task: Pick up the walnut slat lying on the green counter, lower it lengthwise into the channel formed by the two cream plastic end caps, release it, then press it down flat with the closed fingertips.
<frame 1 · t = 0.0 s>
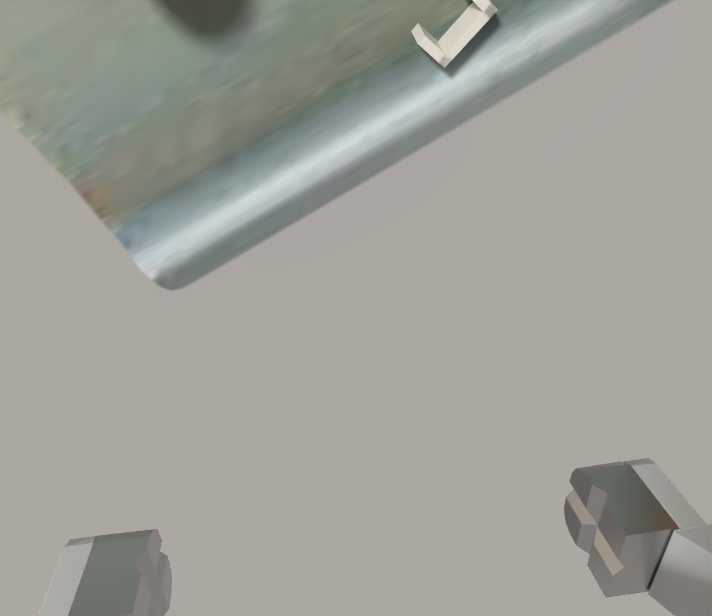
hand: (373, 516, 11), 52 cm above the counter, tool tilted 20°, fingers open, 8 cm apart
cap b: (455, 21, 55), on the counter
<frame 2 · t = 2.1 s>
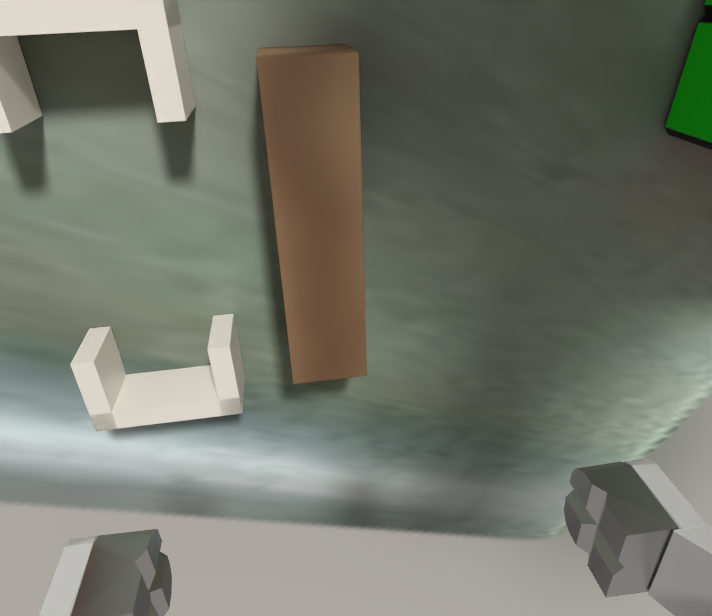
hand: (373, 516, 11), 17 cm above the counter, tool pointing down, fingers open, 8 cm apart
cap a: (85, 28, 20), on the counter
slat: (314, 210, 25), on the counter
cap b: (175, 369, 28), on the counter
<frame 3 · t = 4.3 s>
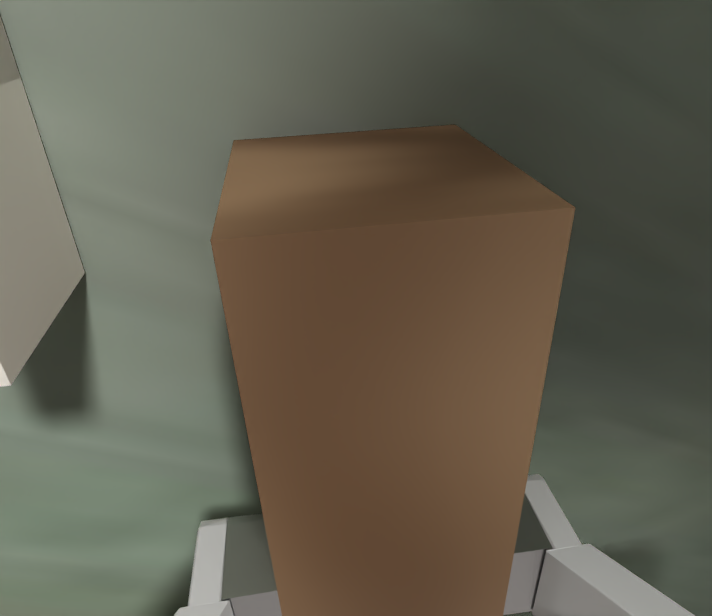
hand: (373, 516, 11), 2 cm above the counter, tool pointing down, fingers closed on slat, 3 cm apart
slat: (361, 451, 12), on the counter, touching gripper
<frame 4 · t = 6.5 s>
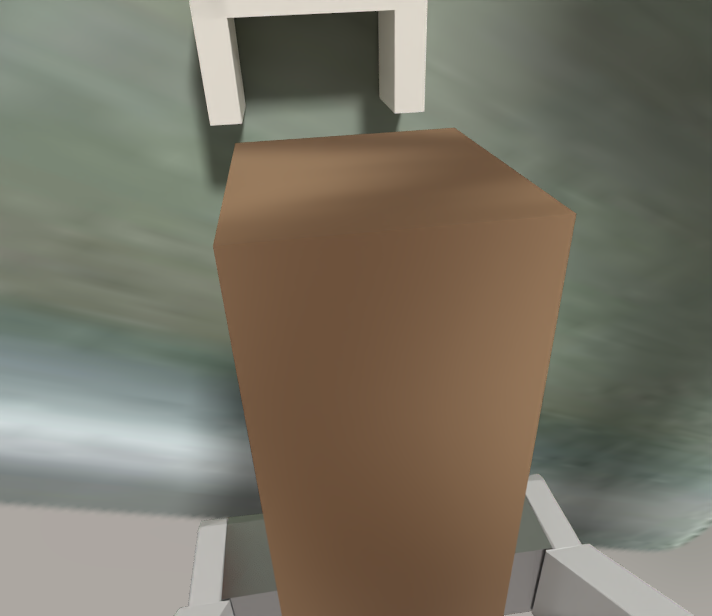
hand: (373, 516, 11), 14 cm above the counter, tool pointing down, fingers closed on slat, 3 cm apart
cap a: (306, 10, 19), on the counter
slat: (361, 454, 12), point 13 cm above the counter, touching gripper
when the fingers open (3 cm above the counter, at t = 8.4 s): slat drops 1 cm, on the counter.
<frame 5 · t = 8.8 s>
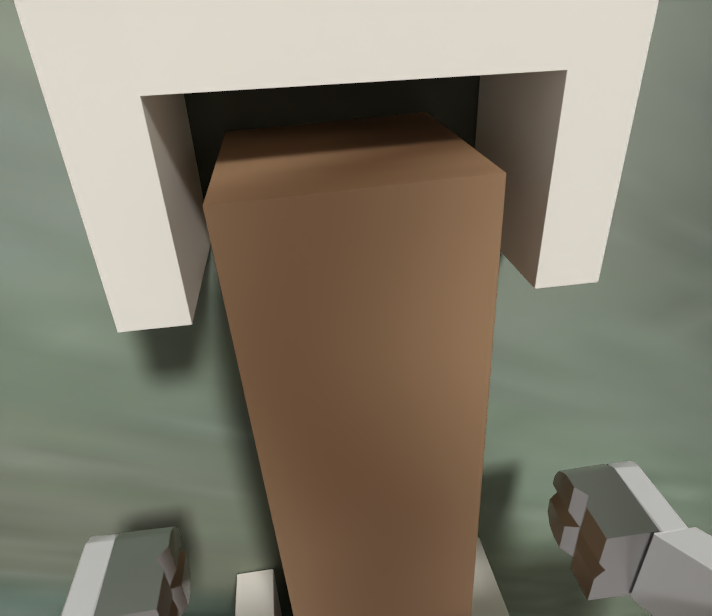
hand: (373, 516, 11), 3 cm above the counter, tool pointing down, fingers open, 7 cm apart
cap a: (334, 57, 9), on the counter
slat: (352, 415, 13), on the counter
cap b: (364, 615, 17), on the counter
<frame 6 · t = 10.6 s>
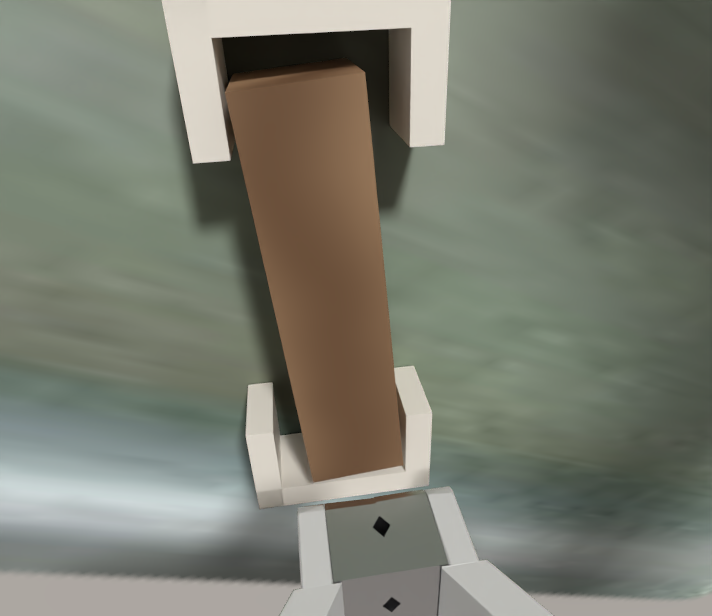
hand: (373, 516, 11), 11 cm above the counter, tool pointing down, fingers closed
cap a: (306, 26, 16), on the counter
slat: (322, 265, 20), on the counter
cap b: (336, 428, 24), on the counter
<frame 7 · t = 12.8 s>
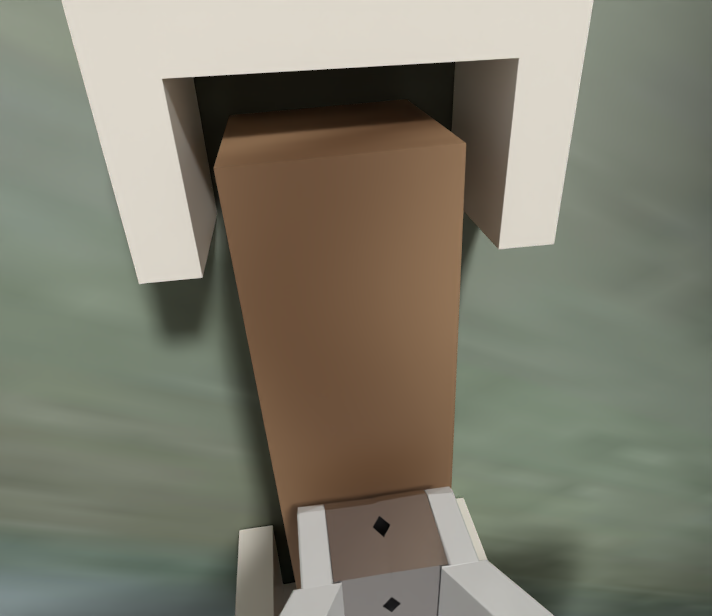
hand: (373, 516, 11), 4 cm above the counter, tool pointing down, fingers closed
cap a: (326, 49, 10), on the counter
slat: (343, 379, 14), on the counter
cap b: (357, 572, 18), on the counter
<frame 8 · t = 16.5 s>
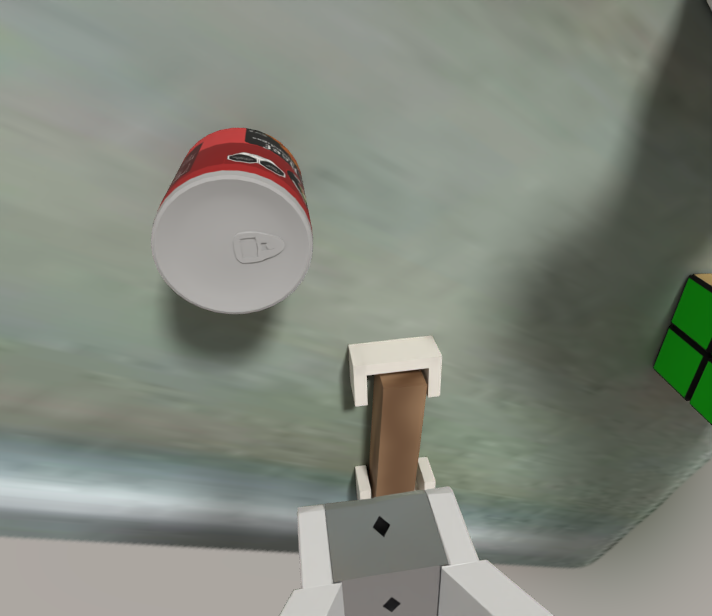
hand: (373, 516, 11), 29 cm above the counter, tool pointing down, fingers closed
cap a: (390, 350, 45), on the counter
slat: (390, 420, 49), on the counter
canned food: (242, 182, 36), on the counter
cap b: (391, 483, 53), on the counter
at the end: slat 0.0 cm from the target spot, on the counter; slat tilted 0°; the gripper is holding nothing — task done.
